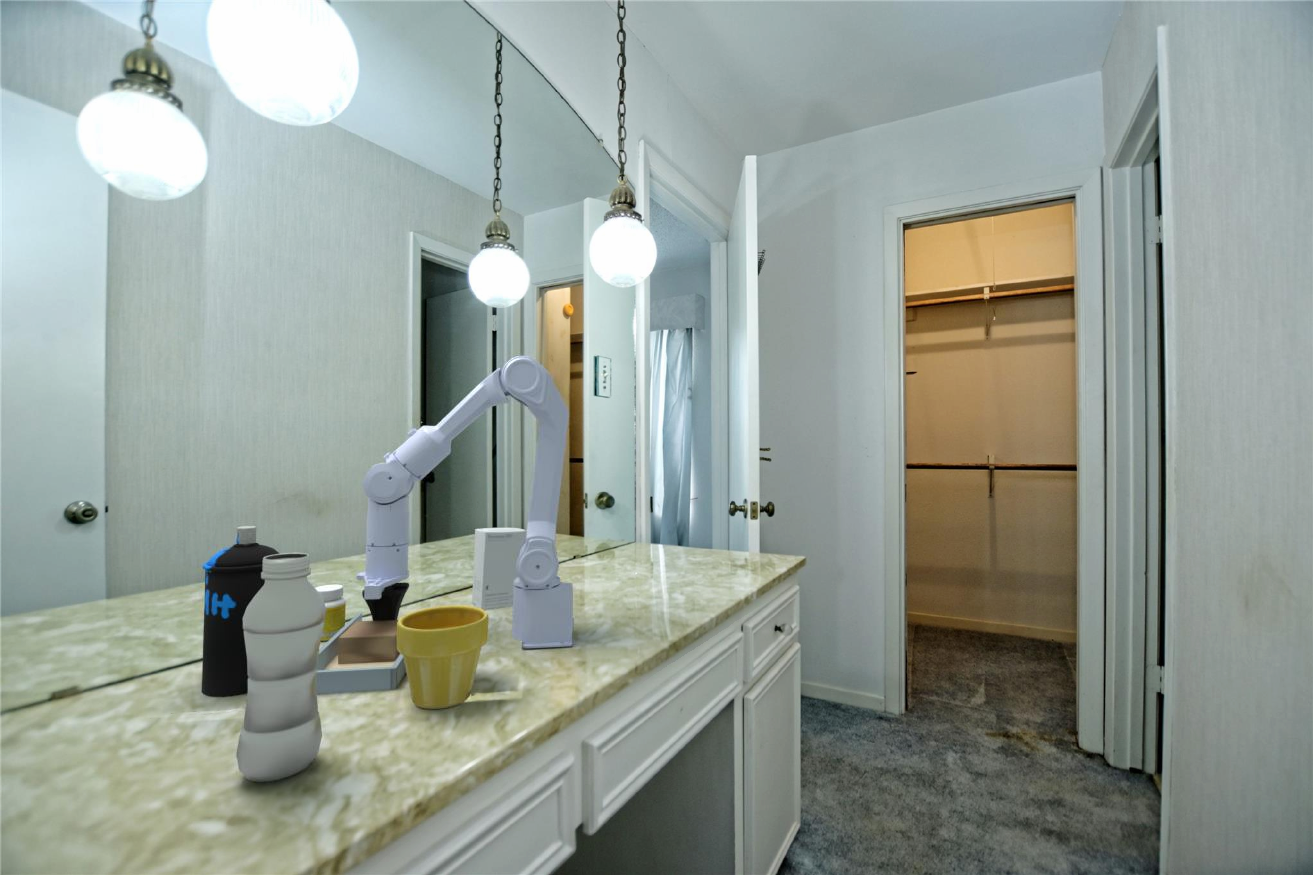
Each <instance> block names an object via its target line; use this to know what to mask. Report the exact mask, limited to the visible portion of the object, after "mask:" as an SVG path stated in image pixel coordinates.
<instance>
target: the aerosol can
mask: <svg viewBox="0 0 1313 875" xmlns="http://www.w3.org/2000/svg"><path fill="white" fill-rule="evenodd" d="M236 532H237V534H236V536H237V537H236V539H235V541H236V543H234V544H232V546H229V547H227V548H224V549H222V550H220V551H218V552H217V551H216V553H215V554H214V555H213V556H211V557H210V558H209V560H208V561H206V562H204V563H203V564H202V569H203V570H205V571H204V572H205V573H204V576H205V577H204V602H203V606H204V607H203V631H202V632H203V634H202V637H203V639H202V641H203V642H202V666H201V667H202V668H201V670H202V672H201V693H202V694H203V695H204V696H206V697H210V698H211V697H212V698H227V697H235V696H242V695H247V694H248V678H249V676H248V669H247V653H246V646H245V638H244V629H243V616H244V613H245V611H246V608H247V606H248V605H249V603H250V602H251V600H252V599H253V597H254V596H255V595H256V594H257V593H258V591H259V590H260V589H261V588H262V587H263V585H264V584H265V580H264V579H262V578H261V573H262V572H263V558H264V557H266V556H269V555H275V554H281V553H280V552H279V551H277V549H275V548H274V547H271V546H268V545H264V544H259V542H257V526H255V525H245V526H244V525H243V526H238V527H236Z"/></svg>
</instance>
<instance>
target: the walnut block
mask: <svg viewBox="0 0 1313 875" xmlns="http://www.w3.org/2000/svg"><path fill="white" fill-rule="evenodd" d="M398 620H399V619H397V620H384V621H373V620H362V621H356V622H355V623H354V624H353V625H352V626H351V627H350V628H349V629H348V630H347V631H346V632H345V633H343V634H342V635H341V636H340V637H339V647H338V664H355V663H377V662H394V661H395V660H396V658H397V657H398V655H399V654H400V653H399V652H398V650H397V622H398Z"/></svg>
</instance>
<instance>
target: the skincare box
mask: <svg viewBox="0 0 1313 875" xmlns="http://www.w3.org/2000/svg"><path fill="white" fill-rule="evenodd" d="M526 533H527V529H526V530H525V529H523V528H519V527H483V528H476V529H474V548H473V549H474V550H473V555H474V556H473V570H472V571H473V573H472V576H473V577H472V594H471V595H472V596H471V604H472V605H473V606H474V607H476V608H480V609H483V610H485V611H488V610H493V609H494V610H495V609H500V608H507V607H513V586H514V580H515V579H516V578H517V577H518V575H517V571H516V563H517V560H518V551H519V548H520V546H521V545H522V543H523V542H524V540H525V538H526Z"/></svg>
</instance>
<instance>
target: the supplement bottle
mask: <svg viewBox="0 0 1313 875" xmlns="http://www.w3.org/2000/svg"><path fill="white" fill-rule="evenodd" d="M314 588H315V589H316V590H317V591H318V593H319V594H320V595H321V597H322V598H323V600H324V604H325V607H326V615H325V619H324V626H323V631H322V636H321V641H320V643H327V642H328V641H329V640H330V639H331V638H332V637H333V636H334V635H335V634H336V633H337V632H338V631H339V630H341V629H342V628H343V627H344V626H345V625H346V599H345V598H344V597H343V596H344V586H343V585H341V584H326V585H320V586H316V587H314Z"/></svg>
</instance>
